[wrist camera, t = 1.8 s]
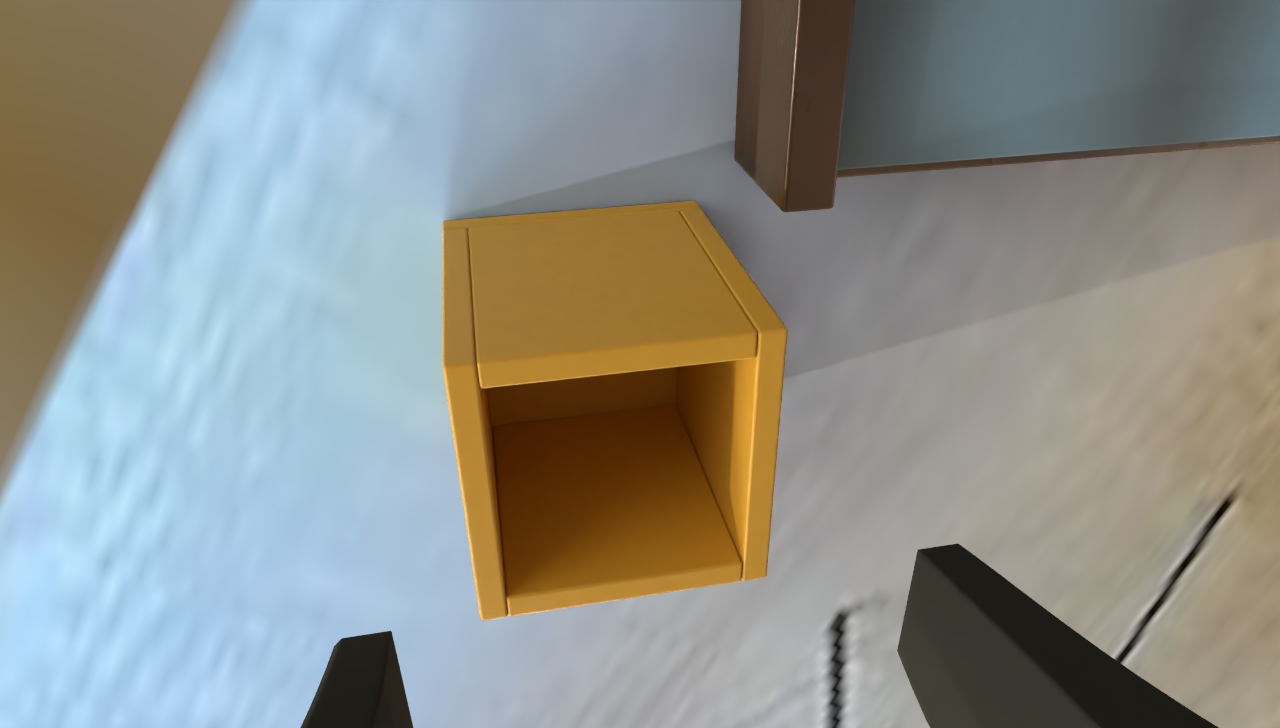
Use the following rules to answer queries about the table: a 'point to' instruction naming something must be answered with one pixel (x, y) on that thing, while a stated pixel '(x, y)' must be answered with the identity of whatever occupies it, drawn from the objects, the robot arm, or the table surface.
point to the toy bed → (993, 84)
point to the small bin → (608, 404)
